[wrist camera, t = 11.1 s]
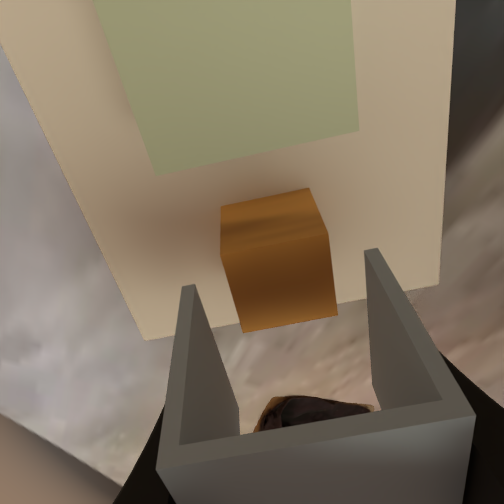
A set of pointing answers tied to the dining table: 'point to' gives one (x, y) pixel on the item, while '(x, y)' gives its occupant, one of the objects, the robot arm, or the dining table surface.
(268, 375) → the dining table surface
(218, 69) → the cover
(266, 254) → the orange block
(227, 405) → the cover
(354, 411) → the wood slice
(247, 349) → the dining table surface
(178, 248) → the mat
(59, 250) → the dining table surface
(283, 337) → the dining table surface
